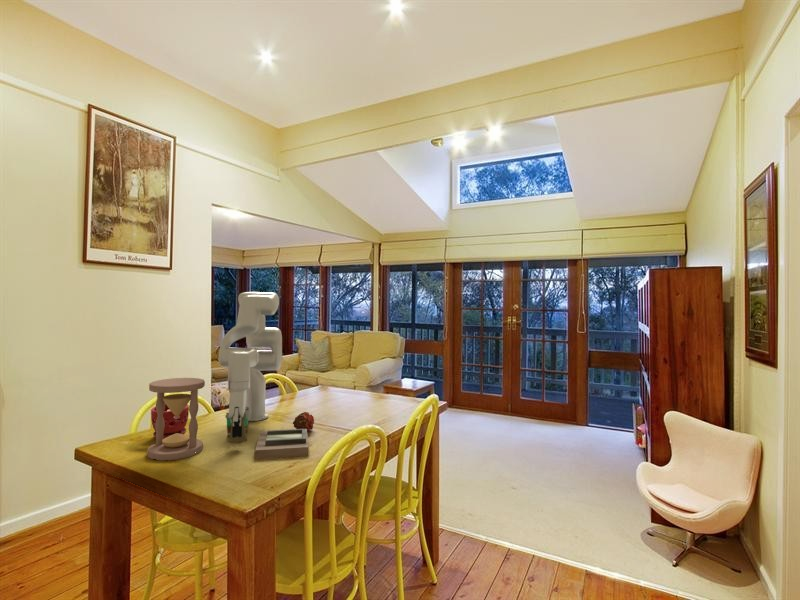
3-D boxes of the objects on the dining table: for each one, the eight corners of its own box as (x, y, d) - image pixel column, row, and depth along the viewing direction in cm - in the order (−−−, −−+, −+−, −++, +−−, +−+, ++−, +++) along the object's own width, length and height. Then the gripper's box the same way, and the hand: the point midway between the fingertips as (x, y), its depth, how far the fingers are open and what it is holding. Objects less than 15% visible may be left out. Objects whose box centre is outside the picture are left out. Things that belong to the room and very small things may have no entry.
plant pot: (148, 435, 166) (149, 405, 166) (184, 429, 174) (185, 401, 174) (152, 444, 155) (153, 412, 156) (191, 437, 163) (191, 407, 163)
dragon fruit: (302, 439, 169) (301, 435, 180) (319, 425, 172) (317, 422, 183) (290, 422, 168) (289, 419, 180) (307, 409, 171) (305, 406, 182)
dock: (260, 438, 164) (260, 427, 164) (306, 436, 168) (306, 425, 168) (255, 459, 142) (255, 445, 142) (308, 455, 147) (308, 442, 147)
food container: (239, 439, 163) (239, 413, 163) (225, 438, 164) (225, 412, 164) (256, 430, 175) (256, 406, 175) (242, 429, 176) (243, 405, 176)
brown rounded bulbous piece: (231, 445, 147) (231, 414, 147) (227, 439, 152) (227, 410, 152) (248, 441, 150) (249, 411, 150) (244, 436, 155) (244, 407, 155)
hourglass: (213, 447, 153) (215, 379, 153) (173, 464, 137) (175, 388, 137) (177, 441, 159) (179, 376, 159) (135, 456, 143) (137, 383, 143)
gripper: (231, 380, 158) (230, 428, 158) (224, 390, 142) (223, 443, 142) (252, 380, 160) (251, 427, 160) (247, 389, 144) (246, 442, 144)
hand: (237, 434), depth 151 cm, fingers closed on brown rounded bulbous piece, 4 cm apart
